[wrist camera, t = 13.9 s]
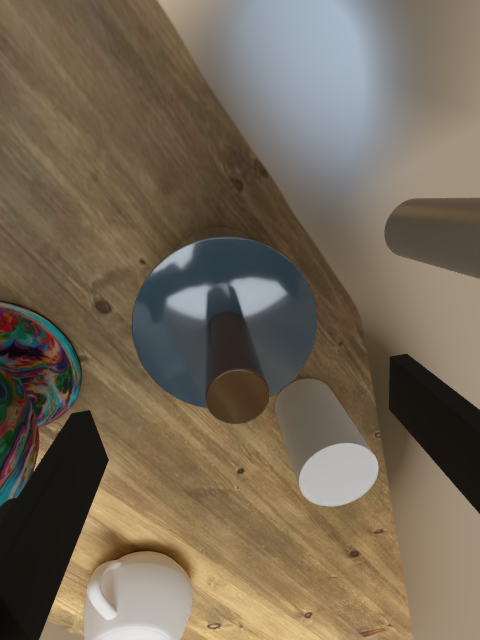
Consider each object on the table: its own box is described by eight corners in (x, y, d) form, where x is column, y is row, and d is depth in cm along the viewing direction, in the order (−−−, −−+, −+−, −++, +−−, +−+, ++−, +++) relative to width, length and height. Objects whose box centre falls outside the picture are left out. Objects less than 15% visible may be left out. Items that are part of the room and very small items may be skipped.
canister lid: (305, 220, 21) (372, 233, 13) (317, 384, 26) (372, 475, 17) (112, 251, 21) (47, 287, 12) (159, 413, 25) (135, 522, 17)
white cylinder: (283, 436, 45) (308, 515, 34) (267, 389, 42) (290, 458, 31) (339, 419, 45) (383, 492, 34) (327, 370, 42) (371, 432, 31)
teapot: (59, 545, 48) (14, 654, 36) (156, 509, 47) (140, 607, 36) (139, 633, 57) (122, 742, 45) (221, 603, 56) (225, 706, 45)
